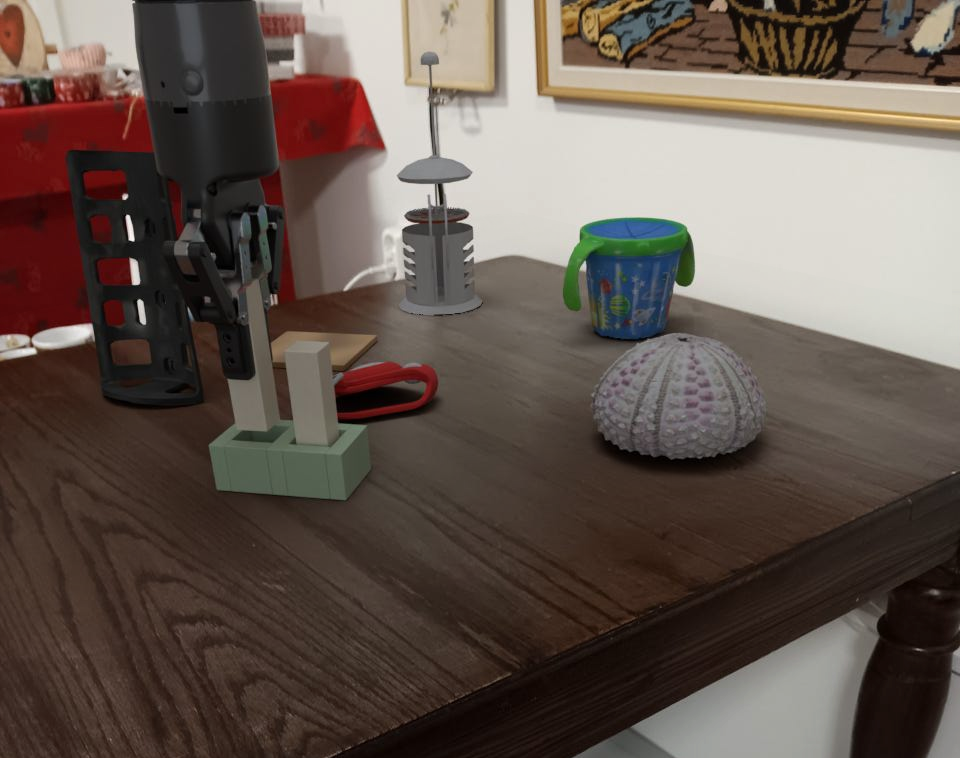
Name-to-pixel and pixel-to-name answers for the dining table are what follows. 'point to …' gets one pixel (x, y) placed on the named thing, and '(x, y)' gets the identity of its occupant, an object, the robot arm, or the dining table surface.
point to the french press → (437, 237)
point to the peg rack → (290, 462)
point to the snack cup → (630, 273)
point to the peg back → (259, 393)
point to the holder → (163, 320)
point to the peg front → (312, 393)
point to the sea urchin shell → (679, 399)
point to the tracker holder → (381, 376)
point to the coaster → (341, 345)
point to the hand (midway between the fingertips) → (248, 370)
